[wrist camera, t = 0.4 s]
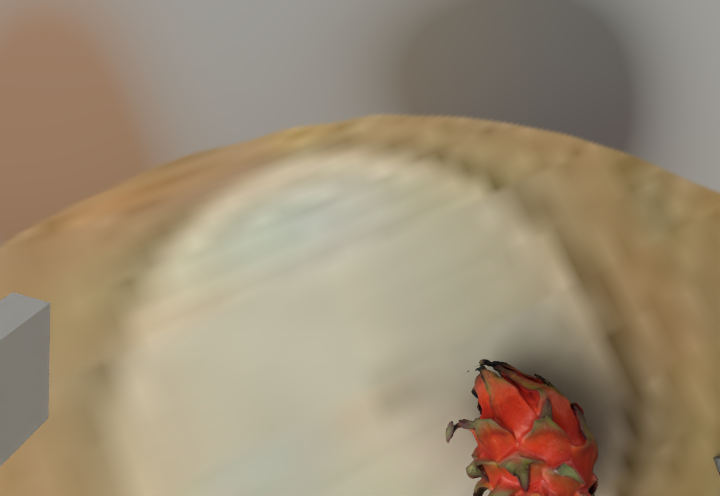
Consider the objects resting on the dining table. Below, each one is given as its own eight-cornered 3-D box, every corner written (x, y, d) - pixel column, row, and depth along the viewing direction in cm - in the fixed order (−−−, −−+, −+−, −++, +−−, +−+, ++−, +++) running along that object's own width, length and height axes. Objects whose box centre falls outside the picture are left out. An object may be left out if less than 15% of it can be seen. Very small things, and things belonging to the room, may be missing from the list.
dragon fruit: (537, 535, 46) (468, 375, 50) (650, 502, 42) (565, 329, 46) (481, 577, 39) (407, 388, 43) (610, 542, 35) (514, 336, 39)
